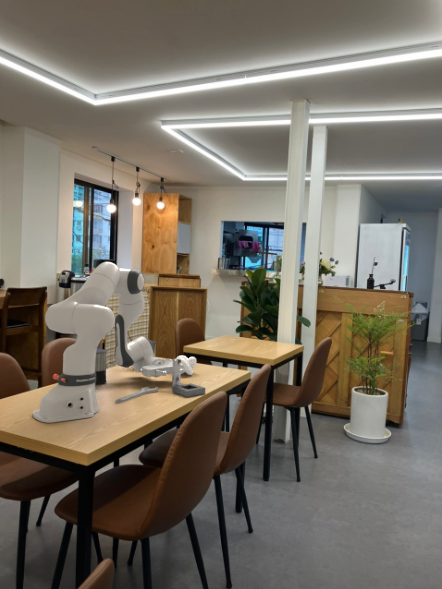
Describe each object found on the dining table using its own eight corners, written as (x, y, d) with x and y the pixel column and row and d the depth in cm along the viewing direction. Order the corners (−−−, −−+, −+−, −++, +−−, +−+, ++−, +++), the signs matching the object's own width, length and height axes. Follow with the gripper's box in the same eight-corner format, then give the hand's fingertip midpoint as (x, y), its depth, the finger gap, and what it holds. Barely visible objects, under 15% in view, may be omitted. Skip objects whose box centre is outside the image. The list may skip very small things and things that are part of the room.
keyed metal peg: (176, 390, 201) (177, 360, 200) (169, 388, 205) (170, 358, 204) (182, 389, 203) (183, 359, 203) (175, 387, 207) (176, 357, 206)
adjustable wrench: (119, 405, 179) (119, 400, 179) (107, 402, 182) (107, 397, 182) (160, 391, 200) (160, 387, 200) (148, 389, 203) (149, 385, 203)
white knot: (198, 376, 229) (199, 358, 228) (174, 377, 226) (175, 359, 226) (194, 372, 240) (195, 354, 239) (171, 372, 237) (172, 355, 237)
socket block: (186, 397, 190) (187, 391, 190) (172, 392, 198) (172, 386, 198) (205, 393, 197) (205, 387, 197) (190, 388, 204) (190, 383, 204)
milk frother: (107, 385, 207) (108, 352, 207) (70, 386, 202) (70, 352, 202) (105, 377, 221) (105, 346, 220) (70, 379, 216) (70, 347, 215)
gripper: (136, 363, 208) (154, 368, 198) (172, 358, 222) (191, 363, 212) (136, 376, 208) (153, 382, 198) (172, 371, 222) (190, 376, 212)
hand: (173, 372), depth 205 cm, fingers open, 8 cm apart
